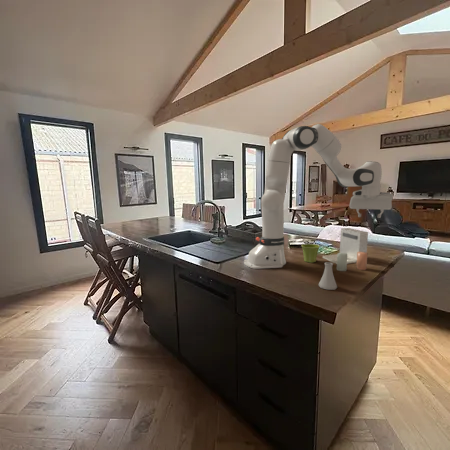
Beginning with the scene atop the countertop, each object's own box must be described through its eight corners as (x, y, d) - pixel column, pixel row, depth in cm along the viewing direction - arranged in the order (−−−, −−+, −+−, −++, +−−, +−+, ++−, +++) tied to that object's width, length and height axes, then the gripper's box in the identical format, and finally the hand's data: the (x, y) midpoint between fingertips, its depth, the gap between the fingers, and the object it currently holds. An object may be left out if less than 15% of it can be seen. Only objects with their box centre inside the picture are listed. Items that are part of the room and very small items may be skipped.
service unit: (339, 265, 132) (341, 234, 129) (321, 257, 145) (323, 230, 143) (366, 261, 137) (368, 232, 134) (347, 254, 150) (348, 227, 148)
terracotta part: (361, 270, 123) (362, 254, 122) (354, 267, 127) (355, 252, 126) (368, 269, 125) (369, 253, 123) (361, 266, 129) (362, 251, 127)
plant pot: (299, 258, 145) (300, 243, 143) (317, 258, 143) (317, 243, 142) (302, 263, 136) (302, 247, 134) (320, 264, 134) (321, 247, 133)
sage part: (341, 271, 122) (341, 255, 121) (334, 268, 127) (335, 253, 125) (348, 270, 124) (349, 254, 122) (342, 267, 128) (342, 252, 126)
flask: (337, 291, 101) (338, 267, 99) (318, 289, 103) (319, 265, 102) (336, 284, 107) (338, 261, 106) (318, 282, 110) (319, 260, 108)
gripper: (393, 191, 137) (391, 217, 139) (350, 192, 147) (349, 215, 149) (394, 192, 132) (391, 218, 134) (349, 192, 142) (348, 217, 144)
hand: (369, 217), depth 142 cm, fingers open, 8 cm apart
